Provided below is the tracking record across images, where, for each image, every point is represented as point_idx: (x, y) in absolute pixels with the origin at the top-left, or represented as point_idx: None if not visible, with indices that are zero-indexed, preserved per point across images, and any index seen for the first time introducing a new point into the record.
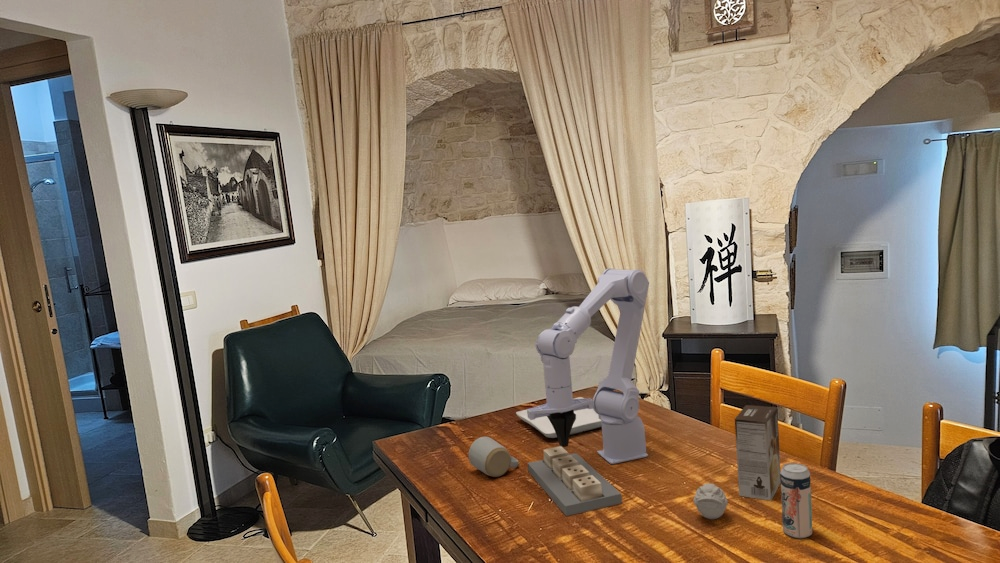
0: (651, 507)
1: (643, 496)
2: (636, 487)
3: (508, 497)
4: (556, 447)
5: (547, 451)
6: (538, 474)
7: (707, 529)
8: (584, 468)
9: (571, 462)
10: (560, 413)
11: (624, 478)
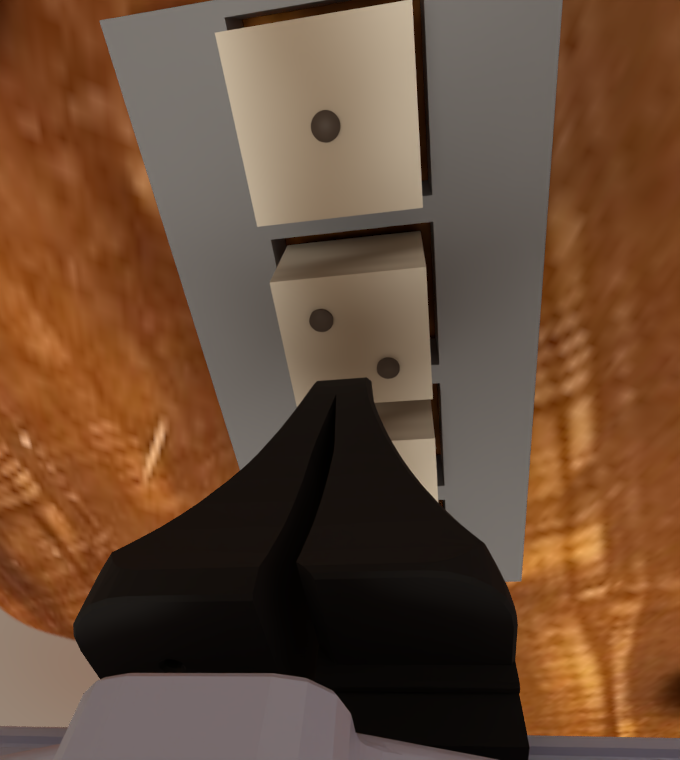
0: (592, 596)
1: (622, 532)
2: (652, 464)
3: (44, 352)
4: (355, 25)
5: (252, 102)
6: (184, 274)
7: (649, 710)
8: (432, 488)
9: (387, 390)
10: (318, 677)
11: (669, 365)
